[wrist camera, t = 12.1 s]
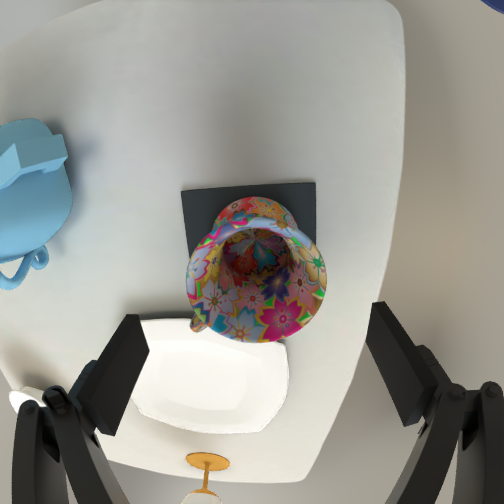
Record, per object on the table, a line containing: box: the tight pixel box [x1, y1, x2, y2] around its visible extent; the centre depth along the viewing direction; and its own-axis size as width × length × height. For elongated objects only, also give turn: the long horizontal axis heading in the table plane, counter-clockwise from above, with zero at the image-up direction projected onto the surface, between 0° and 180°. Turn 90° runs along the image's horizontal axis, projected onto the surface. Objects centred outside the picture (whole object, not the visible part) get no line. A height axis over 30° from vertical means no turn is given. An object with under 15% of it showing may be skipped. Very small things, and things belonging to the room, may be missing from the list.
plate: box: [131, 318, 289, 434], centre depth 35 cm, size 23×23×2 cm
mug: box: [186, 197, 327, 343], centre depth 24 cm, size 12×9×11 cm
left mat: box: [181, 183, 316, 258], centre depth 29 cm, size 13×12×1 cm
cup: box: [181, 453, 230, 504], centre depth 38 cm, size 9×9×16 cm
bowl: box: [9, 387, 46, 414], centre depth 38 cm, size 20×20×6 cm
